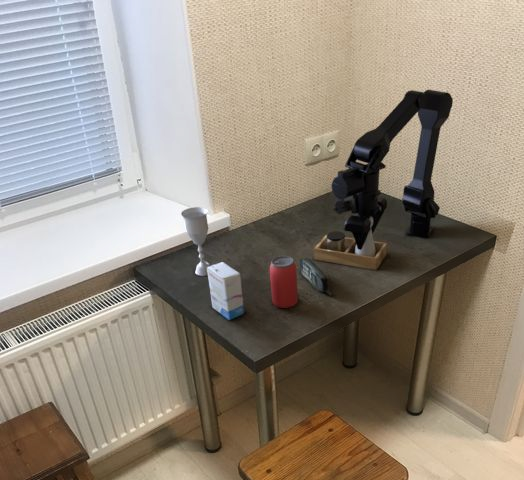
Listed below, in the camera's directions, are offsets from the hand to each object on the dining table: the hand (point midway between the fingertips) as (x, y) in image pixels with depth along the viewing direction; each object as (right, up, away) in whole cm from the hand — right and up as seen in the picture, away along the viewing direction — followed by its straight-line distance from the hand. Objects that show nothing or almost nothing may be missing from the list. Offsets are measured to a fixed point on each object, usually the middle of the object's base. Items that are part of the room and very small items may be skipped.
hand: (364, 242), depth 157 cm
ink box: (-37, -20, -12) cm, 44 cm away
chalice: (-45, -7, +6) cm, 46 cm away
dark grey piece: (-14, -12, -5) cm, 19 cm away
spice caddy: (-3, -3, +5) cm, 7 cm away
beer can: (-23, -18, -11) cm, 31 cm away
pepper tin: (-7, -2, +7) cm, 10 cm away
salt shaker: (+1, -4, +3) cm, 5 cm away
